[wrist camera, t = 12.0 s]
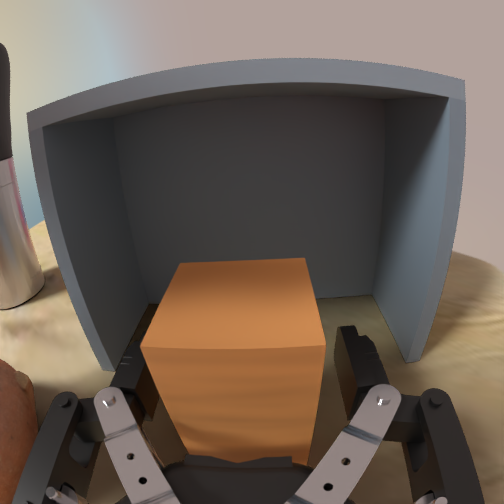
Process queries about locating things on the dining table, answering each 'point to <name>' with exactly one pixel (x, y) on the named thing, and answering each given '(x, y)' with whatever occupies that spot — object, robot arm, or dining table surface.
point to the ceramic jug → (15, 428)
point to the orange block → (239, 358)
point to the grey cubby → (254, 185)
